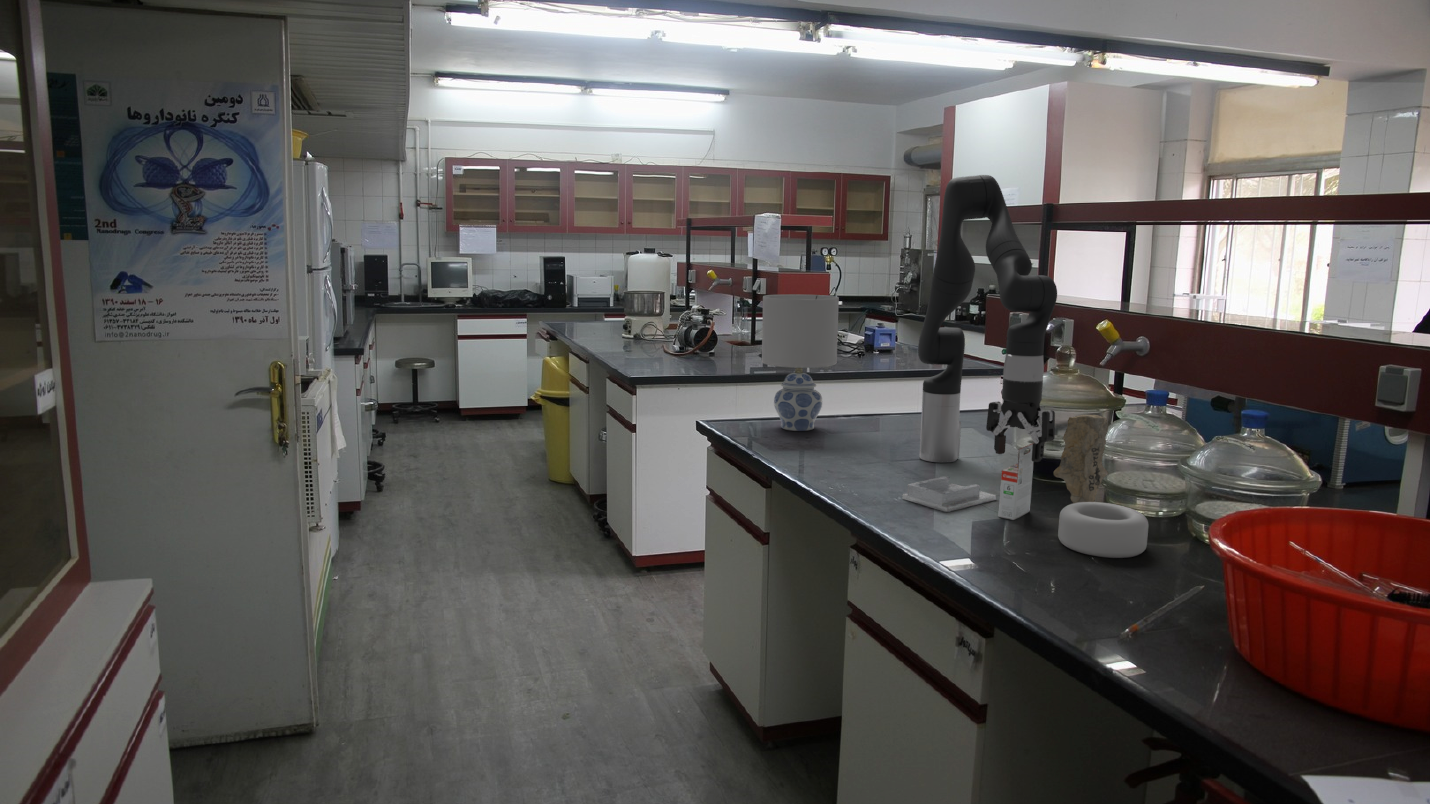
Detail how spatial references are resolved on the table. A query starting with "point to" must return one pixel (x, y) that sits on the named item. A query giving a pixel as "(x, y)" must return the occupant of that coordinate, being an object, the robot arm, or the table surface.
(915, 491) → the bracket
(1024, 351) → the robot arm
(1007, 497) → the ink box
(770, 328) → the lamp
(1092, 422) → the stone tool
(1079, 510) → the thick torus
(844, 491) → the table surface
